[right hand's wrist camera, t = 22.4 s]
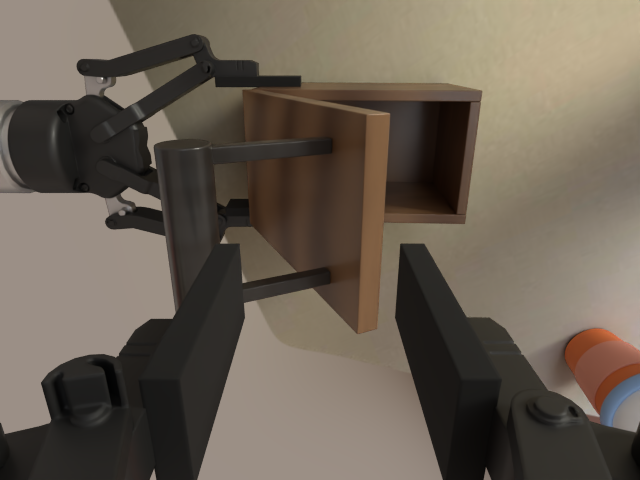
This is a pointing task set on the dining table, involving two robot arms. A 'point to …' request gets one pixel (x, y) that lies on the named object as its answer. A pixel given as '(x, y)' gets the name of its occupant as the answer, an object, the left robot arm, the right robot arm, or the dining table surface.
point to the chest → (416, 143)
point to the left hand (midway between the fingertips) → (301, 147)
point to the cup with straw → (607, 376)
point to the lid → (289, 199)
